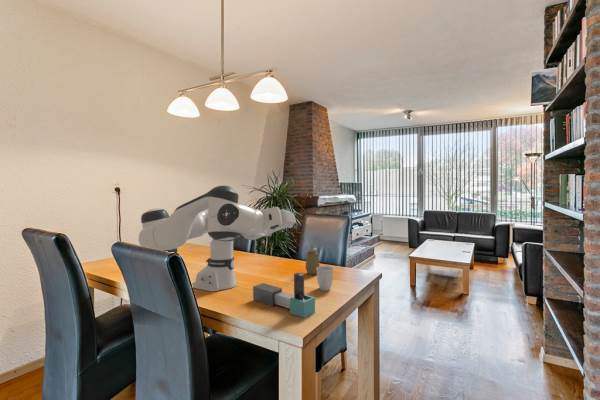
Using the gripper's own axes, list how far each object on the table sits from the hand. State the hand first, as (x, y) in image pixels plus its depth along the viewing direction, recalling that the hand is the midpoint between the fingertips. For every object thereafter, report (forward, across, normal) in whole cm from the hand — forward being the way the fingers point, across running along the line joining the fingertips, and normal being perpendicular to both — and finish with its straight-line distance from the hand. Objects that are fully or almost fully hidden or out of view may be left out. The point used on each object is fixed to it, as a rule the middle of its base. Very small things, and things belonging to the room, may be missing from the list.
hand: (280, 229), depth 115 cm
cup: (+43, -7, -21) cm, 48 cm away
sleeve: (+18, -24, -22) cm, 37 cm away
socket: (+15, -6, -30) cm, 34 cm away
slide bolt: (+15, -11, -27) cm, 33 cm away
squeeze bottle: (+61, -21, -9) cm, 65 cm away
